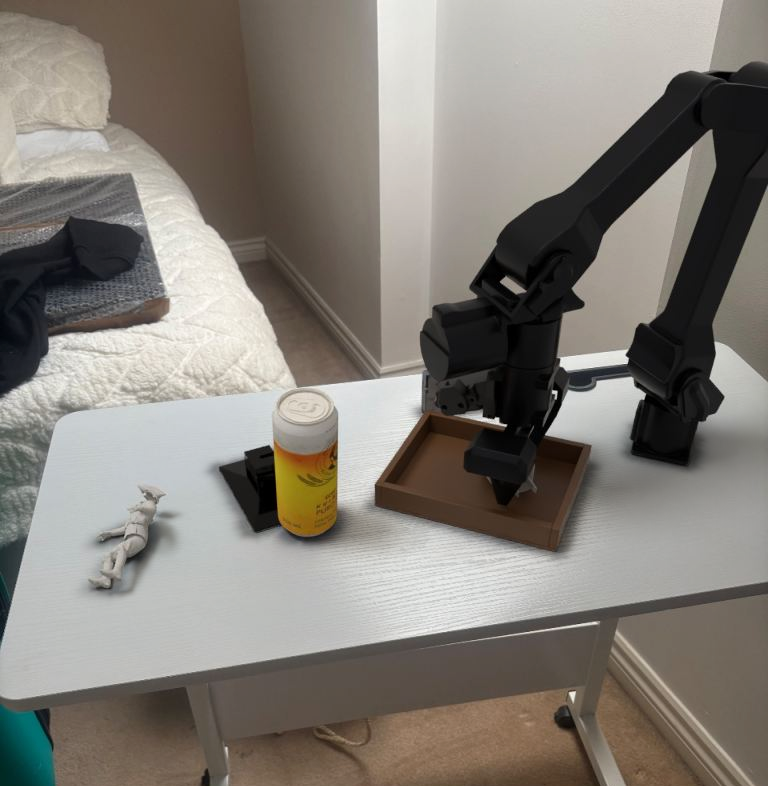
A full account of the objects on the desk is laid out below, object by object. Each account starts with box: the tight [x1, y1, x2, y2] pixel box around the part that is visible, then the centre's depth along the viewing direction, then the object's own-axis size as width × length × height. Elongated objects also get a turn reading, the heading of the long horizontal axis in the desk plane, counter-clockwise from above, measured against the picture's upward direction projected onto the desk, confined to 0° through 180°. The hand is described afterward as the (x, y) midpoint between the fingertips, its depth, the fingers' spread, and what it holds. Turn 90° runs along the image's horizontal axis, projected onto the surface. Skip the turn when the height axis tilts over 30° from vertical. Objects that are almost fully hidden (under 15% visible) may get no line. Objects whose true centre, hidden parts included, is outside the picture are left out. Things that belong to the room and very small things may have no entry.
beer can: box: [271, 387, 339, 538], centre depth 81 cm, size 6×6×15 cm
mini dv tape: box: [420, 369, 441, 415], centre depth 101 cm, size 8×2×6 cm, turn 106°
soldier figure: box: [87, 484, 167, 589], centre depth 82 cm, size 8×5×12 cm
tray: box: [374, 410, 593, 553], centre depth 90 cm, size 20×16×3 cm
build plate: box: [218, 444, 282, 534], centre depth 89 cm, size 12×7×5 cm, turn 26°
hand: (512, 483), depth 90 cm, fingers open, 7 cm apart
